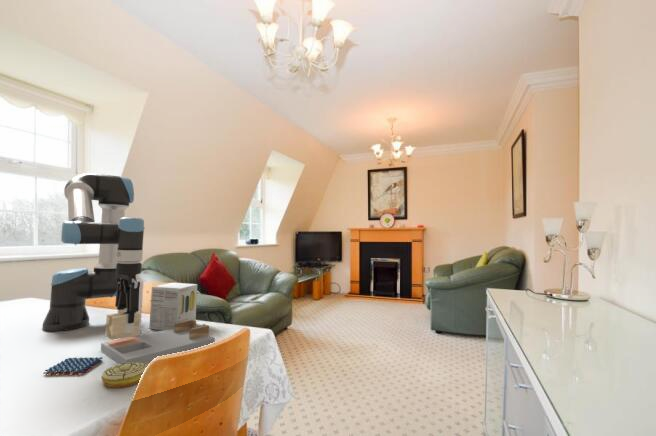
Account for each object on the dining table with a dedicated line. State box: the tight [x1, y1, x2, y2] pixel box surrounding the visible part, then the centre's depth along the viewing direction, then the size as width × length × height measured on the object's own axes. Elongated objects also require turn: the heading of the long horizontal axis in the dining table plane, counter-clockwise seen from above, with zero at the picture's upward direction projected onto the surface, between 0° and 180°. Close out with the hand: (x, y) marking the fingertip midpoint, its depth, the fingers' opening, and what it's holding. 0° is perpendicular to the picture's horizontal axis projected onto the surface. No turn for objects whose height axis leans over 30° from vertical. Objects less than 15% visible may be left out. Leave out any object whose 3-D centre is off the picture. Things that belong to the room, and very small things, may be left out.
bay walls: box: [174, 320, 210, 340], centre depth 122 cm, size 12×7×4 cm, turn 51°
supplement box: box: [148, 282, 198, 331], centre depth 140 cm, size 13×13×18 cm
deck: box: [100, 328, 216, 365], centre depth 114 cm, size 22×29×3 cm
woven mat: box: [43, 356, 103, 377], centre depth 95 cm, size 10×11×2 cm
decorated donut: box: [101, 362, 148, 389], centre depth 89 cm, size 10×11×4 cm
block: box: [105, 312, 140, 341], centre depth 111 cm, size 6×8×7 cm
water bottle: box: [120, 270, 152, 339], centre depth 125 cm, size 9×6×25 cm
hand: (125, 330), depth 111 cm, fingers closed on block, 6 cm apart
